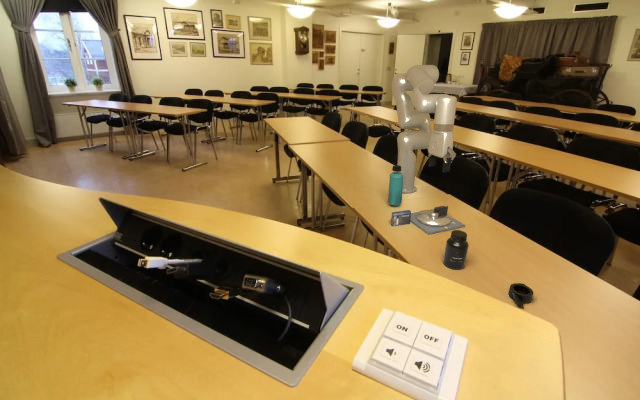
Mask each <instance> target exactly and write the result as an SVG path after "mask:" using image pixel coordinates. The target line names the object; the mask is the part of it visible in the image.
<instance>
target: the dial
mask: <svg viewBox="0 0 640 400" xmlns="http://www.w3.org/2000/svg"><path fill="white" fill-rule="evenodd" d="M433 209H434V210H431V209H425V210H423V209H422V210H420V211H417V212H418V213H417V215H416V219H417V220H418V221H419V222H420V223H422V224H424V225H428V226H433V227H443V226H447V225H449V224H450V222H451V217H452V216H451V215H449V214H448V210H449V206H448V205H447V204H444V205H440V206H435V207H434V208H433ZM450 216H451V217H450Z"/></svg>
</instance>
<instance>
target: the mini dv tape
mask: <svg viewBox="0 0 640 400" xmlns="http://www.w3.org/2000/svg"><path fill="white" fill-rule="evenodd" d="M411 213H412V211H411V209H407V210H399V211H392V212H391V220H390V226H391V227H399V226H407V225H410V224H411V222H410V219H411Z"/></svg>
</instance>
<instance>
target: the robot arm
mask: <svg viewBox="0 0 640 400" xmlns="http://www.w3.org/2000/svg"><path fill="white" fill-rule="evenodd" d="M439 76H440V72H439V69H438V67H437V66H436V65H434V64H417V65H416V64H415V65H413V66H411V67H409V68H408V70H407V71H406V73H399V74H396V75H395V76H393V78H392V79H391V92H392V96H393V98H394V101H395V105H396V113H397V114H396V115H397V123H398V127H399V128H400V129H402V130H405V131H401V132H399V134H398V135H397V137H396V140H397V164H396V165H399V166H401V171H400V173H402V174H403V188H402V194H412V193H415V192H416V191H417V189H418V188H417V186H415V181H416V169H417V156H416V154H415V152H414V150H426V149H427V156H428V162H427V164H428V165H427V166H428V167H435V166H436V162H437V161H436V160H437V158H441V159H443V163H442V169H441V172H442V173H449V172H450V171H451V165H452V164H451V163H453V161H454V160H455V158H456V156H457V153H456V152H455V151H454V150H453V148H454V125H455V119H456V118H455V116H456V110H457V103H458V102H457V101H458V99H457V97H456V96H455V95H450V94H446V93H445V94H444V93H433V94H431V92H432V91H433V89H434V88H435V84H436V83H437V81H438V80H439ZM407 92H411V95H410V94H408V93H407ZM430 114H434V118H433V119H434V121H433V129H432V121H431V115H430ZM413 129H414V130H413Z"/></svg>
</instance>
